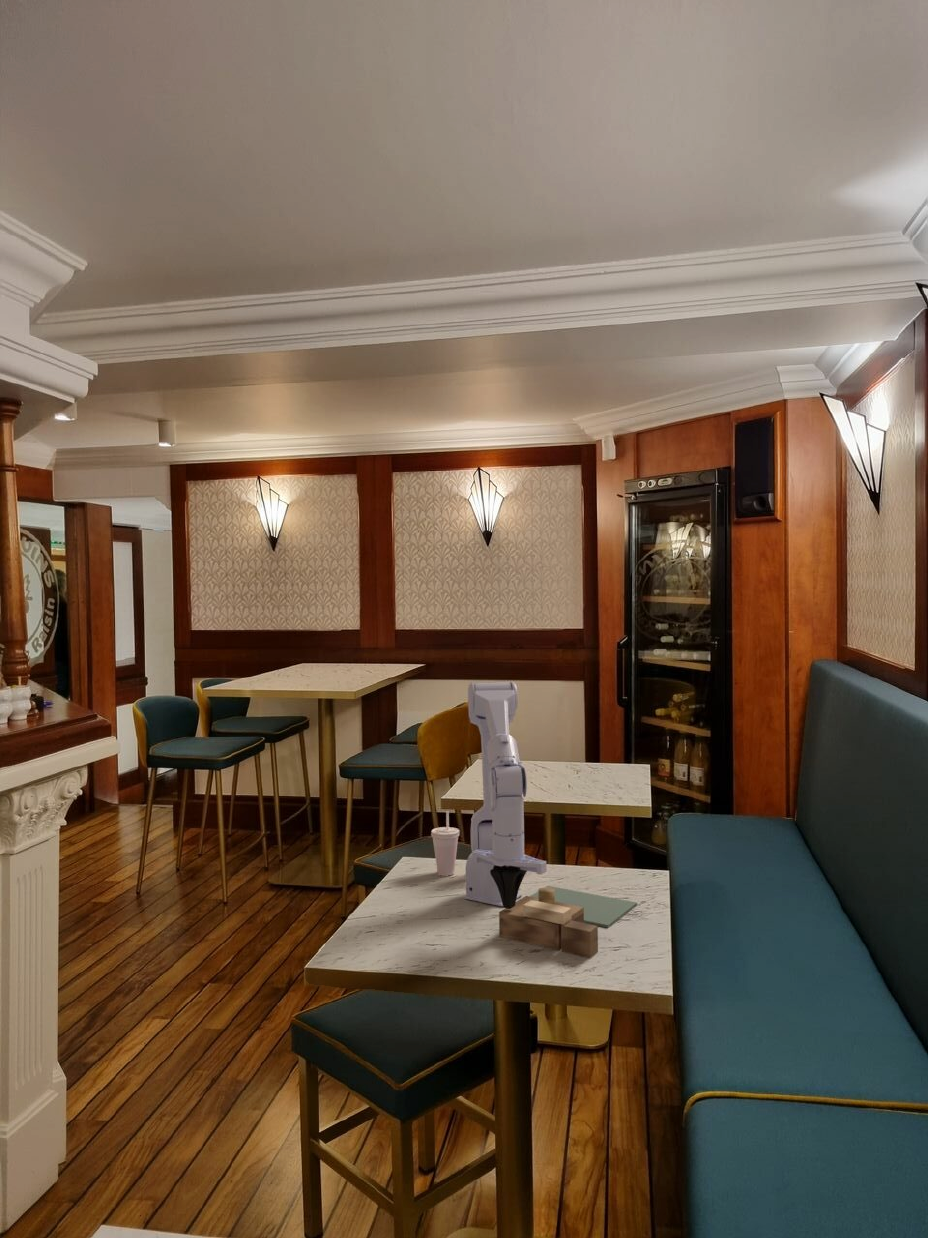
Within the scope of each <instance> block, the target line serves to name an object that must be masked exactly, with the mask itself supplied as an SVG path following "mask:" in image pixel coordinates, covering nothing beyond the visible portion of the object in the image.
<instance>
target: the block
mask: <svg viewBox="0 0 928 1238" xmlns="http://www.w3.org/2000/svg"><path fill="white" fill-rule="evenodd" d="M523 916H525V917H530V918H534V919H539V920H544V921H548V922H553V923H558V924H562V925H564V924H566V923H567V922H568V921H570V920H571V908H569V907H564V906H559V905H554V904H549V903H544V902H539V901H534V900H530V901H529V902H527V903H525V904H524V905H523Z"/></svg>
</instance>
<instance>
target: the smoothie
mask: <svg viewBox="0 0 928 1238" xmlns="http://www.w3.org/2000/svg"><path fill="white" fill-rule="evenodd" d="M445 813H446V814H445V817H446V818H445V823H446V824H445V825H446V826H442V827H441V826H440V827H435V828H433V829H432V830H431V831H430V832H431V834H430V836H431V837H432V841H433V849H434V856H435V863H436V865H435V866H436V871H437V875H438V876H440V875H442V876H441V877H448V876H447V875H451V874H454V875H455V869H456V860H457V859H456V858H457V852H458V842H459V841H458V840H459V836H460V829H459V828H456V827H450V816H449V815H450V812H449V810H445ZM451 876H452V875H451Z"/></svg>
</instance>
